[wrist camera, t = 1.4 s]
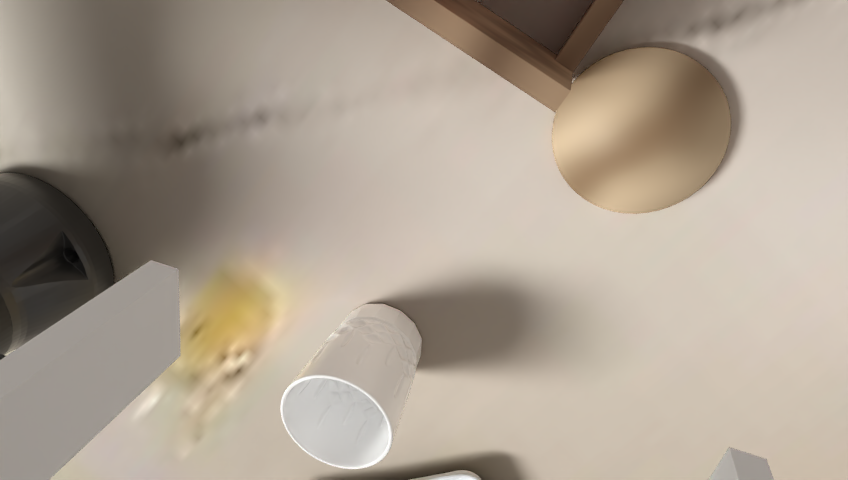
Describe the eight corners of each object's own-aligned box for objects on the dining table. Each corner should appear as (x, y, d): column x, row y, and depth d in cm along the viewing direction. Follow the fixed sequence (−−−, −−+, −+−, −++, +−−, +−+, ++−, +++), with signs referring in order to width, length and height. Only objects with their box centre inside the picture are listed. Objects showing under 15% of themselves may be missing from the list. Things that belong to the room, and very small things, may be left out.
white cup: (392, 280, 43) (343, 358, 34) (448, 357, 45) (415, 451, 36) (319, 318, 47) (257, 398, 38) (374, 389, 48) (327, 481, 40)
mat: (521, 154, 37) (520, 156, 36) (622, 11, 32) (623, 12, 31) (649, 238, 37) (649, 242, 36) (769, 109, 32) (772, 112, 31)
